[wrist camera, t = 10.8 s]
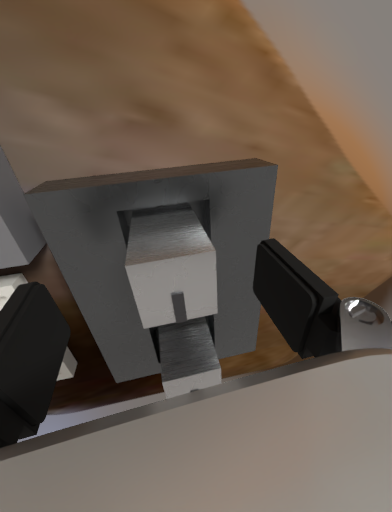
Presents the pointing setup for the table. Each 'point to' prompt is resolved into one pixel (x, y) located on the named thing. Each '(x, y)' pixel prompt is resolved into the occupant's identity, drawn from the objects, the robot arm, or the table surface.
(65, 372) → the tray
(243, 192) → the grey slotted frame
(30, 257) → the button housing
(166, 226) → the billet
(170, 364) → the block
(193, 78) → the table surface
